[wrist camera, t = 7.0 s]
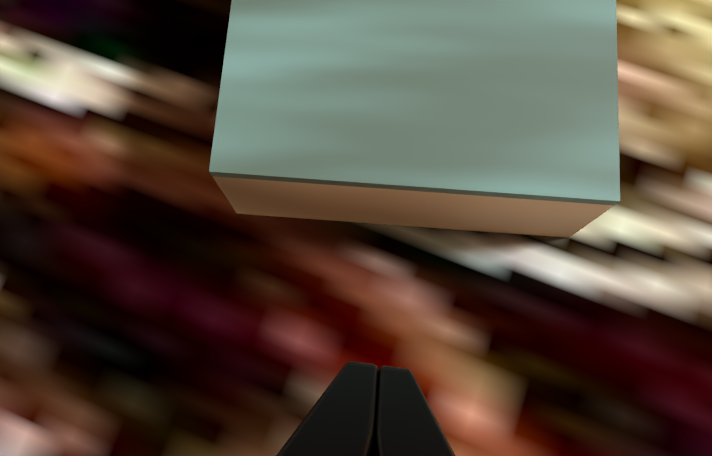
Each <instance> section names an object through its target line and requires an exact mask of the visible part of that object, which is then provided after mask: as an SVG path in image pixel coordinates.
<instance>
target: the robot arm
mask: <svg viewBox="0 0 712 456" xmlns="http://www.w3.org/2000/svg"><path fill="white" fill-rule="evenodd" d="M277 456H455V454H454V452H453V450H452V449H451V447H450V445H449V443H448V441H447V439H446V437H445V435H444V433H443V431H442V429H441V427H440V425H439V423H438V422H437V420H436V418H435V416H434V414H433V412H432V410H431V408H430V406H429V404H428V402H427V400H426V398H425V396H424V395H423V393H422V391H421V389H420V387H419V385H418V383H417V381H416V379H415V377H414V375H413V374H412V372H411V371H410V370H409V369H406V368H399V367H391V366H382V367H380V368H379V371H378V368H377V366H376V365H374V364H369V363H361V362H354V361H350V362H347V363H346V364H345V365H344V367H343V368H342V369H341V370H340V372H339V373H338V374H337V376H336V377H335V378H334V380H333V381H332V382H331V384H330V385H329V386H328V388H327V389H326V390H325V392H324V393H323V394H322V396H321V397H320V398H319V400H318V401H317V402H316V404H315V405H314V406H313V408H312V409H311V410H310V412H309V413H308V414H307V416H306V417H305V418H304V420H303V421H302V422H301V424H300V425H299V426H298V428H297V429H296V430H295V432H294V433H293V434H292V436H291V437H290V438H289V440H288V441H287V442H286V444H285V445H284V446H283V448H282V449H281V450H280V452H279V453H278V454H277Z"/></svg>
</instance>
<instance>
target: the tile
mask: <svg viewBox="0 0 712 456" xmlns="http://www.w3.org/2000/svg"><path fill="white" fill-rule="evenodd" d="M209 173H210V174H211V176H212V177H213V179H214V180H215V182H216V183H217V185H218V186H219V188H220V189H221V191H222V192H223V194H224V195H225V197H226V198H227V200H228V201H229V203H230V204H231V206H232V207H233V209H234V210H235V212H236V213H237V214H250V215H264V216H277V217H291V218H305V219H318V220H332V221H346V222H360V223H373V224H387V225H401V226H415V227H428V228H442V229H456V230H470V231H483V232H497V233H511V234H525V235H538V236H552V237H566V238H569V237H571V236H572V235H573V234H575V233H576V232H578V231H579V230H580V229H582V228H583V227H585V226H586V225H587V224H589V223H590V222H592V221H593V220H594V219H596V218H597V217H599V216H600V215H602V214H603V213H604V212H606V211H607V210H609V209H610V208H611V207H613V206H614V205H616V204H617V203H618V202H620V171H619V121H618V72H617V23H616V0H232V2H231V9H230V17H229V24H228V32H227V39H226V47H225V54H224V62H223V69H222V77H221V84H220V92H219V99H218V107H217V114H216V122H215V129H214V137H213V144H212V152H211V159H210V167H209Z"/></svg>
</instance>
